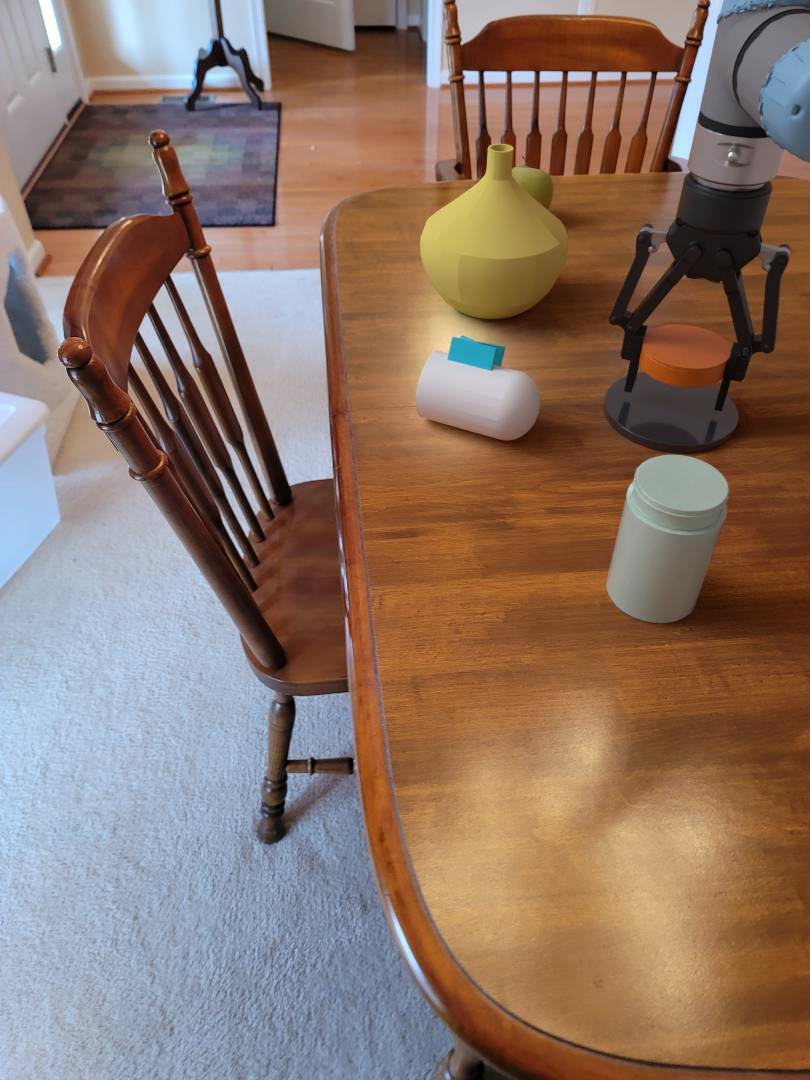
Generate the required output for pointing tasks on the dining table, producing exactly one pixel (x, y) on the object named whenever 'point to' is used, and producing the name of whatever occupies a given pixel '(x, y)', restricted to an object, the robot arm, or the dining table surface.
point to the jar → (666, 537)
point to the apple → (535, 183)
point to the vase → (494, 245)
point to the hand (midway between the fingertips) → (674, 394)
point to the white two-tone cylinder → (477, 391)
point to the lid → (684, 355)
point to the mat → (669, 415)
